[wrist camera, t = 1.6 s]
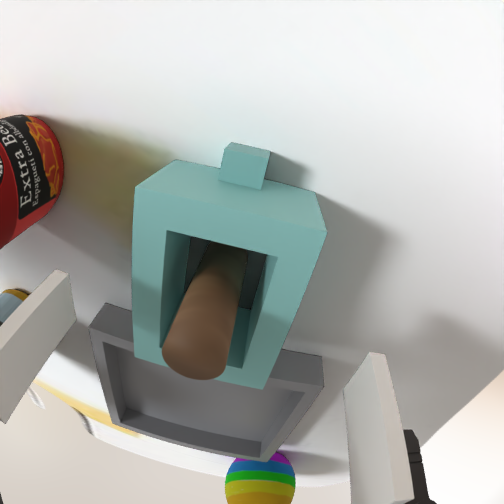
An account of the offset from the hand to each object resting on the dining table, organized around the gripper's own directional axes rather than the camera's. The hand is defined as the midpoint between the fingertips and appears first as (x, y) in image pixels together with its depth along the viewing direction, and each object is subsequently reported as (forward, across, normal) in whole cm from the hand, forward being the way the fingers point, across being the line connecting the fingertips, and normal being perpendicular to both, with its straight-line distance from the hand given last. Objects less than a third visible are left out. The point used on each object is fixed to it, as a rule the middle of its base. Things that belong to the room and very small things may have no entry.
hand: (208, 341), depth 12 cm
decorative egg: (+7, +8, -27) cm, 29 cm away
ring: (+7, 0, 0) cm, 7 cm away
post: (+7, 0, 0) cm, 7 cm away
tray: (+7, 0, -14) cm, 16 cm away
